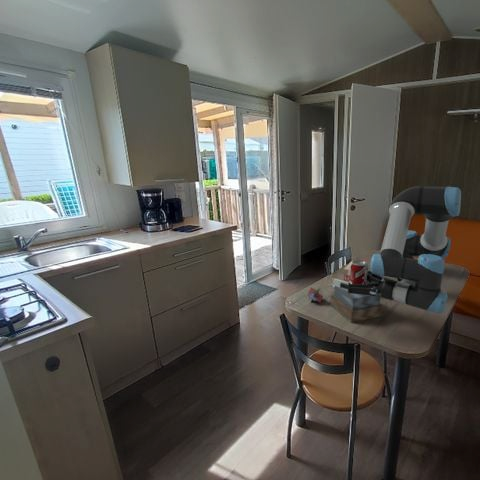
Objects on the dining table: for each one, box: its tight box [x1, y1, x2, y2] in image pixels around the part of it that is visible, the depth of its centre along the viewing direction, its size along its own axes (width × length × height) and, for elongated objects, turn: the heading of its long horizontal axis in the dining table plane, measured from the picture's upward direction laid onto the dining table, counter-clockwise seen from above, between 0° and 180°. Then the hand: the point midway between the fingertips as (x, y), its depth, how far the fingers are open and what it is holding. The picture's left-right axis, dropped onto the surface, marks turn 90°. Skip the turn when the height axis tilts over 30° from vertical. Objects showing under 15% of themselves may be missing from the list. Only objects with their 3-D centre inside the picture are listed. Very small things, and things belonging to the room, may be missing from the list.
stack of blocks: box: [343, 260, 354, 282], centre depth 148 cm, size 21×6×12 cm, turn 144°
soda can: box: [350, 259, 369, 284], centre depth 121 cm, size 7×7×12 cm
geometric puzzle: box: [307, 287, 324, 304], centre depth 134 cm, size 7×7×8 cm
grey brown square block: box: [329, 286, 384, 323], centre depth 124 cm, size 15×15×10 cm
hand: (341, 276), depth 122 cm, fingers open, 13 cm apart
